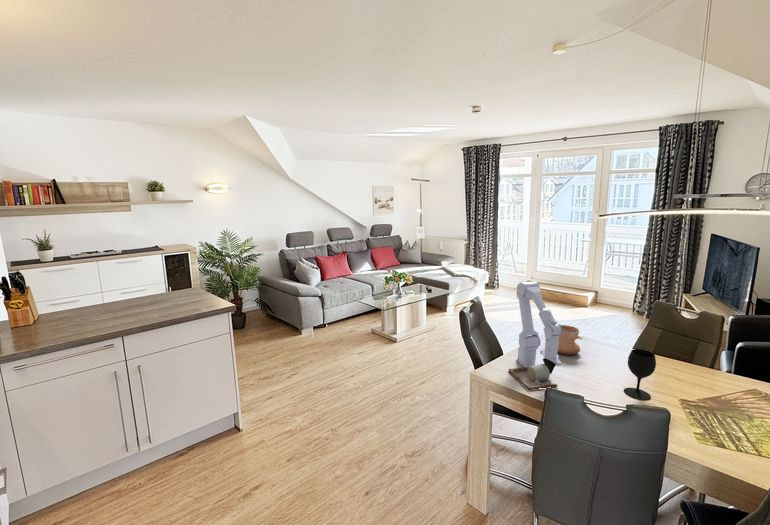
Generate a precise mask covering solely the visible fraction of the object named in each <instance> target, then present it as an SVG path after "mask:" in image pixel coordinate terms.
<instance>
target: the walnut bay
mask: <svg viewBox="0 0 770 525" xmlns="http://www.w3.org/2000/svg"><path fill="white" fill-rule="evenodd" d="M527 369H528V367H515V368H509V369H508V373H510V375H511V376H512V377H514V379H515V380H516V381H518V383H520V384H521V385H522V384H523V385H524V386H525V387H526V388H527V389H528V390H530V391H534V390H533V389H539V388H547V387H551V388H550V389H557V388H558V384H557V383H551V384H550V383H549V384H548V385H539V384H537V385H532V386H531V385H529V384H528V383H527V382H526V381H525V380H524V379H522V377H521V376H519V374H518V372H519V373H520V372H521V371H522V372H527ZM523 385H522V386H523ZM524 386H523V387H524ZM525 387H524V388H525ZM556 387H557V388H556ZM526 388H525V389H526ZM527 389H526V390H527ZM528 390H527V391H528Z"/></svg>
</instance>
